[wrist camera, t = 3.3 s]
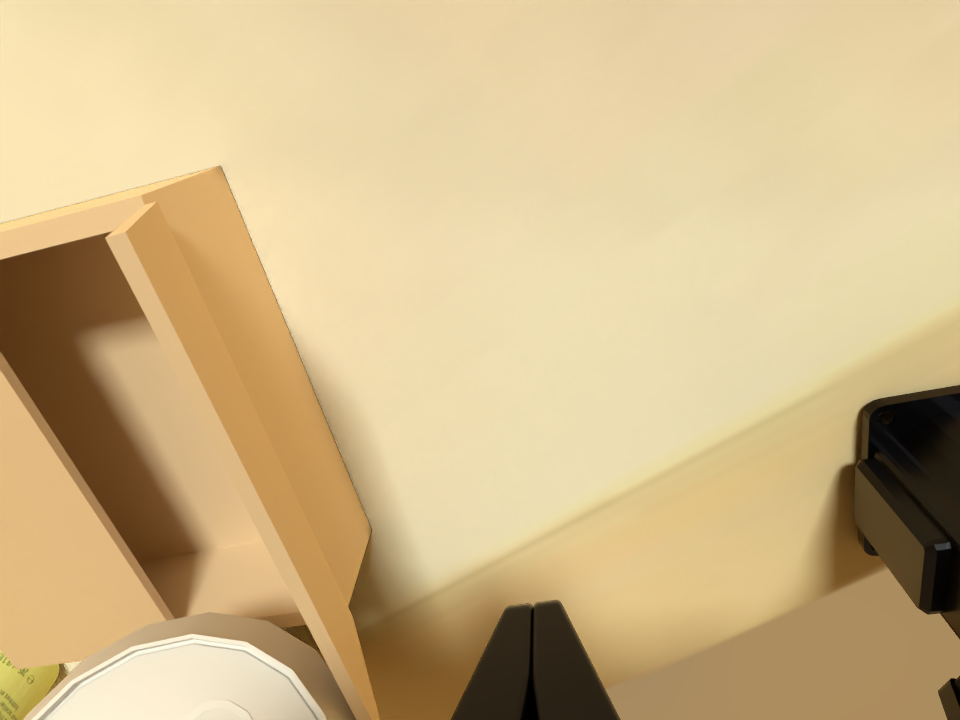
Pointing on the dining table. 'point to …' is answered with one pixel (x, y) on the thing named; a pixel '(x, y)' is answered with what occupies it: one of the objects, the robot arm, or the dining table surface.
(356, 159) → the dining table surface
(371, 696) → the flap
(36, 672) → the tube
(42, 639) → the carton
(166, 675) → the supplement can
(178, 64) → the dining table surface
